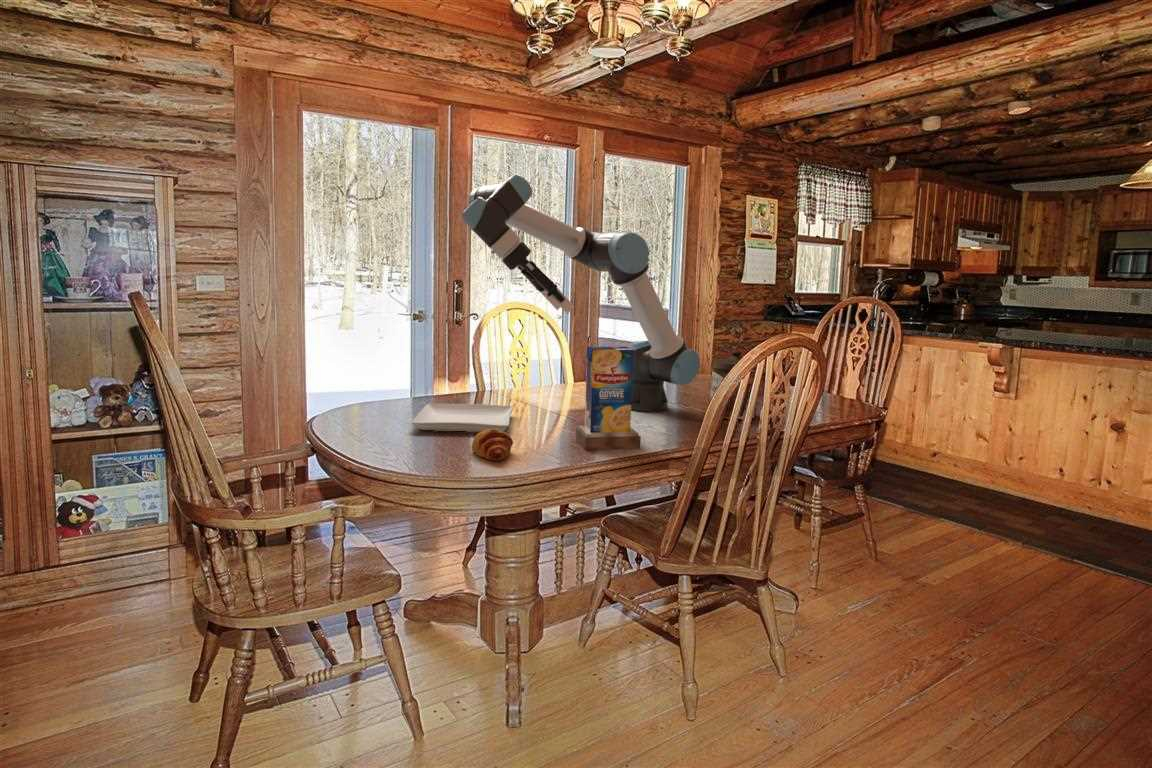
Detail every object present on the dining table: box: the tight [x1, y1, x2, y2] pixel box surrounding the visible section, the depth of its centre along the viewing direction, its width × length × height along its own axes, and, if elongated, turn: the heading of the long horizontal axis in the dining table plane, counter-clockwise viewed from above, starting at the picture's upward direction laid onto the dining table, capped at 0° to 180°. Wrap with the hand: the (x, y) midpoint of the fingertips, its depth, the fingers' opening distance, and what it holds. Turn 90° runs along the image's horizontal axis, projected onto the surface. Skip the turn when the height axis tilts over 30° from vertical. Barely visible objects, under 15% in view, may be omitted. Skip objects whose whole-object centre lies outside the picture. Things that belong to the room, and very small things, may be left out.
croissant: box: [471, 429, 514, 462], centre depth 180 cm, size 21×10×8 cm, turn 17°
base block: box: [575, 425, 642, 451], centre depth 193 cm, size 15×11×4 cm
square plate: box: [411, 403, 514, 433], centre depth 212 cm, size 27×27×4 cm
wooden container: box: [709, 348, 757, 418], centre depth 233 cm, size 15×15×22 cm
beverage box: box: [584, 346, 634, 433], centre depth 191 cm, size 7×11×22 cm, turn 103°
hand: (565, 308), depth 194 cm, fingers open, 13 cm apart
